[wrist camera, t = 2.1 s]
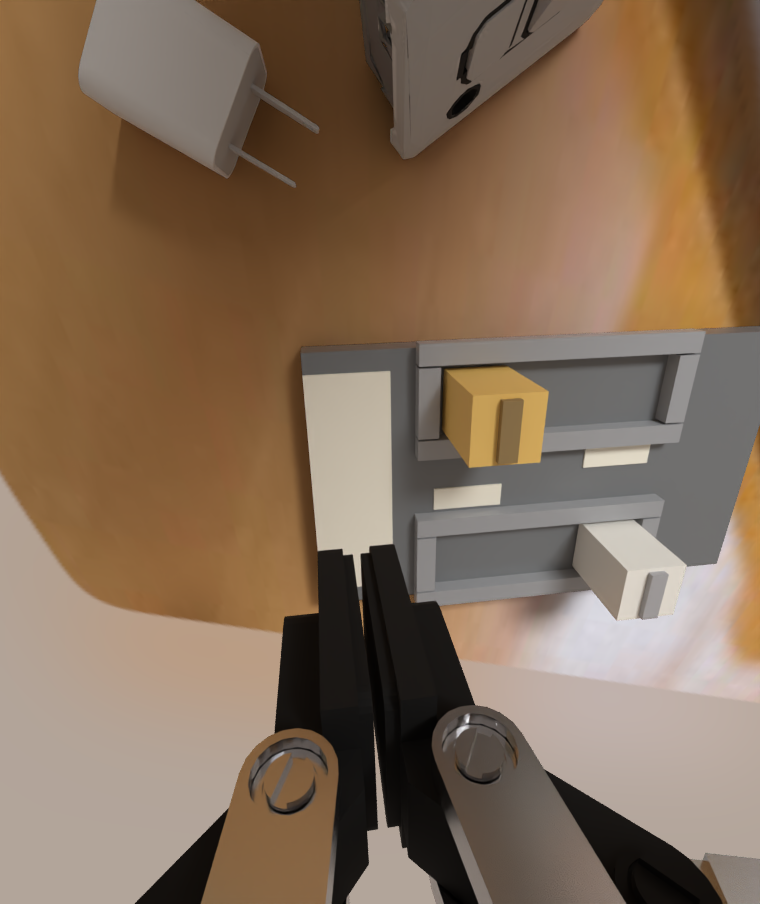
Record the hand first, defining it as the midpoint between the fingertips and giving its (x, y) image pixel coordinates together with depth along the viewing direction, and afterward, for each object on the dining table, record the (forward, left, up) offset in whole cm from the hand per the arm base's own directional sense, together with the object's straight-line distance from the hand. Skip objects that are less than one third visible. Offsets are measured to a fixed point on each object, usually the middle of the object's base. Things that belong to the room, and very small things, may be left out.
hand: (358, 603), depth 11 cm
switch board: (+4, +11, -15) cm, 18 cm away
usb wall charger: (-12, -3, -15) cm, 19 cm away
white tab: (+9, +15, -13) cm, 21 cm away
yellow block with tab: (0, +7, -13) cm, 15 cm away
